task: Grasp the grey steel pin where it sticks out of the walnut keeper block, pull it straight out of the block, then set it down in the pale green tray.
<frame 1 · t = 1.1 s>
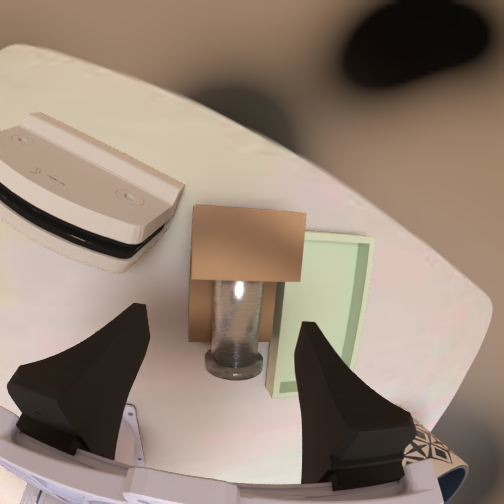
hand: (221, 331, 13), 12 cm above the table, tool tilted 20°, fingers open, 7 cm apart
white curved plastic device: (84, 185, 22), on the table
pin: (230, 286, 25), resting on keeper
tray: (314, 313, 28), on the table
keeper: (231, 280, 25), on the table
planter: (360, 447, 33), on the table
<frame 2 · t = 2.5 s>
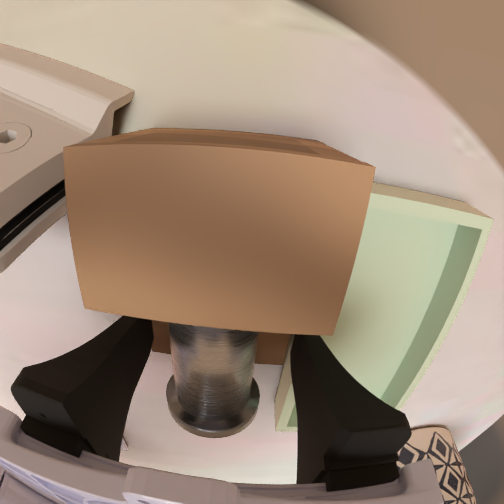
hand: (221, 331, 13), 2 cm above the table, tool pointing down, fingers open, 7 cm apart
white curved plastic device: (6, 114, 11), on the table
pin: (222, 270, 14), resting on keeper
tray: (365, 321, 16), on the table
keeper: (223, 261, 14), on the table
planter: (386, 459, 25), on the table
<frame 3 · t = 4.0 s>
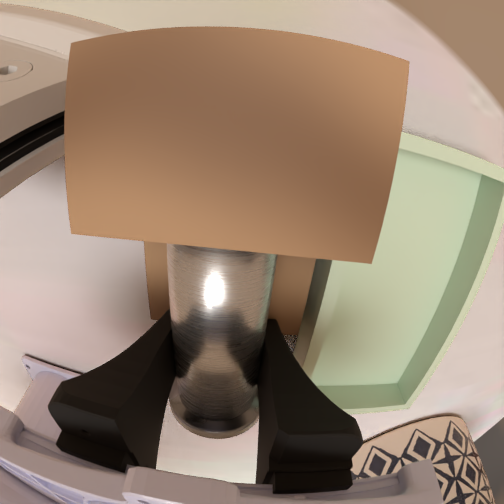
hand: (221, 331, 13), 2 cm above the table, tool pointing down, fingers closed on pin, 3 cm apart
white curved plastic device: (8, 71, 10), on the table
pin: (229, 264, 14), resting in keeper, touching gripper
tray: (385, 288, 14), on the table
keeper: (233, 213, 13), on the table
planter: (397, 452, 24), on the table
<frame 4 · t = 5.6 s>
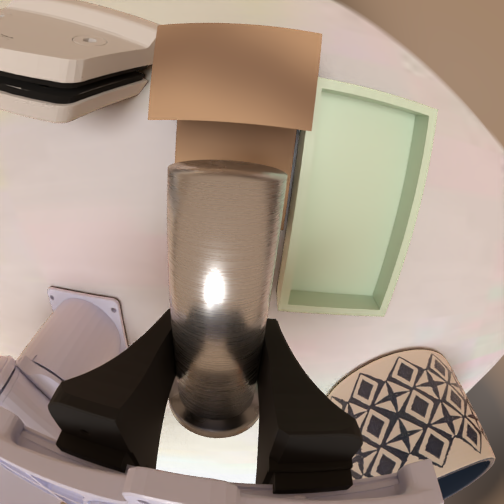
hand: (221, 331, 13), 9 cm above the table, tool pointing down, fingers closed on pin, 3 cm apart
white curved plastic device: (67, 47, 15), on the table
pin: (230, 264, 14), point 7 cm above the table, touching gripper
tray: (349, 201, 20), on the table
keeper: (236, 142, 18), on the table
planter: (387, 393, 29), on the table
when the fingers open (3 cm above the table, at t = 7.6 s): pin drops 2 cm, resting on tray.
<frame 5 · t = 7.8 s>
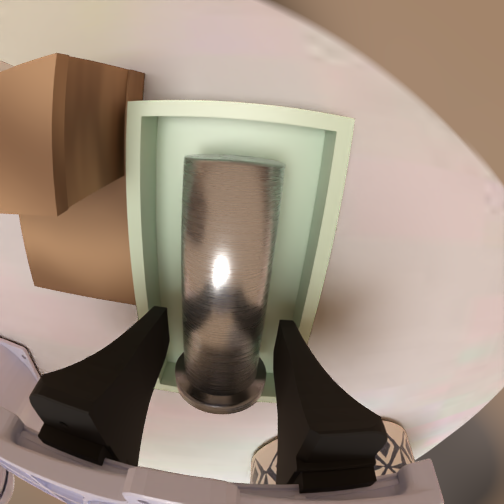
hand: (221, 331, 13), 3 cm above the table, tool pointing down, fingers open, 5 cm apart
pin: (231, 251, 15), resting on tray
tray: (229, 264, 15), on the table
keeper: (80, 196, 13), on the table
planter: (329, 453, 25), on the table
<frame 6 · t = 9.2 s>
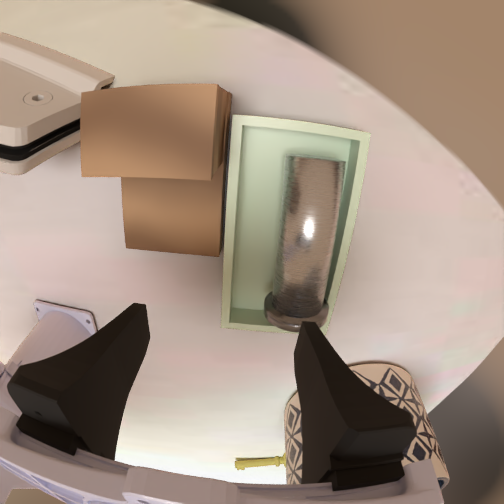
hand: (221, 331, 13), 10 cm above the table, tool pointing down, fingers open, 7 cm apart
white curved plastic device: (31, 89, 17), on the table
pin: (278, 220, 22), resting on tray, tilted 29°
tray: (286, 227, 21), on the table
key: (277, 454, 38), on the table
keeper: (175, 177, 20), on the table
planter: (350, 402, 31), on the table
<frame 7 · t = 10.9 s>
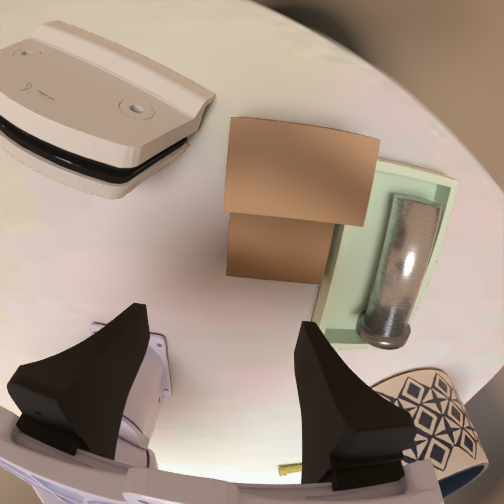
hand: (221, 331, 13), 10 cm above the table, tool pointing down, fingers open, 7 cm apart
white curved plastic device: (101, 92, 18), on the table
pin: (369, 249, 23), resting on tray, tilted 30°
tray: (376, 256, 22), on the table
key: (317, 458, 39), on the table
keeper: (282, 207, 21), on the table
planter: (395, 405, 32), on the table
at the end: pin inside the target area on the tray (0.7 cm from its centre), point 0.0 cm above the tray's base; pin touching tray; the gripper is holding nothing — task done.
